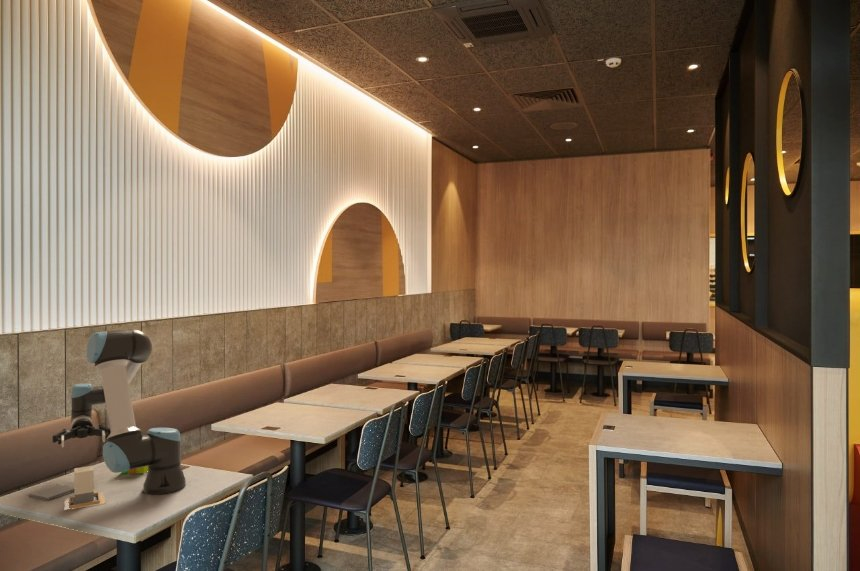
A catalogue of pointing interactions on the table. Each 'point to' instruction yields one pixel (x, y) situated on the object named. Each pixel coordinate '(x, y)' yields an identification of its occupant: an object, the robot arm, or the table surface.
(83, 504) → the tan square frame
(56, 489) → the slate board
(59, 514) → the table surface
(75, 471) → the beige and grey block
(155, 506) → the table surface
